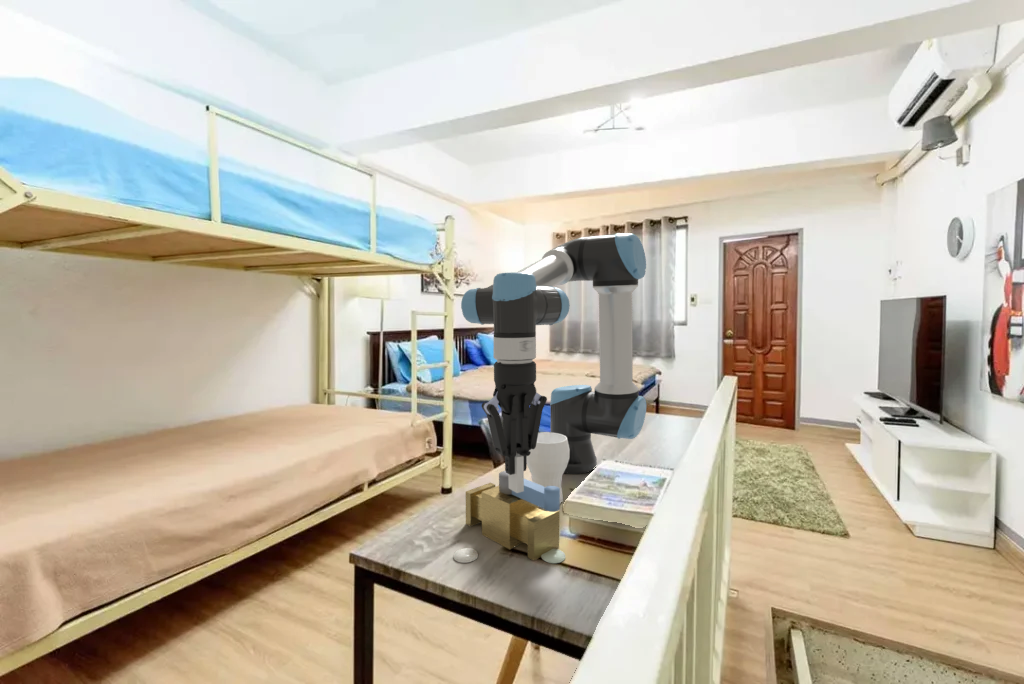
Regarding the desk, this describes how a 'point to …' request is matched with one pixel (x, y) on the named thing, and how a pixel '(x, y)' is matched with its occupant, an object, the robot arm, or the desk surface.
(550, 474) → the cup
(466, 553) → the white domed disc
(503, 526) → the valve body
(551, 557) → the pale green round dome
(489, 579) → the desk surface
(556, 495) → the lever
